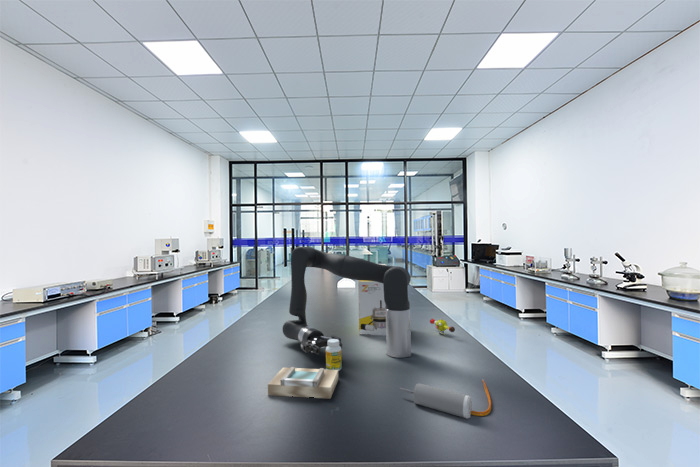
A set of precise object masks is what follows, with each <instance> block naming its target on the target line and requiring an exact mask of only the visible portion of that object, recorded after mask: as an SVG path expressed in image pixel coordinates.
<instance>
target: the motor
mask: <svg viewBox="0 0 700 467" xmlns="http://www.w3.org/2000/svg"><path fill="white" fill-rule="evenodd" d="M481 380H482V384H483V389H484V391H485V394H486V396H487V397H486V398H487V400H488V408H487V409H486V410H484V411H475V410H472V409H473V401H472V400H473V399H472V397H471V396H470V395H466V394H464V393H463V394H462V393H458V392H454V391H450V390H448V389H447V390H446V389H443V388H439V387H436V386H435V387H434V386H431V385H427V384H423V383H416V384H415V386H414V390H410V389H407V388H405V387H404V388H403V387H399V388H398V391H402V392H405V393H409V394H413V395H412V396H413V398H412V399H413V402H414V404H415V405H419V406H422V407H425V408H429V409H433V410H436V411H439V412H442V413H447V414H450V415H453V416H456V417H460V418H463V419H470V418H471V415H472V416H475V417H483V416H484V417H486V416H487V415H489V414H490V413H491V411H492V399H491V395H490V393H489V390H488V387H487V385H486V383H485V382H486V381H485V380H484V379H483V378H482V379H481Z"/></svg>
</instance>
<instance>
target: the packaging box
mask: <svg viewBox="0 0 700 467" xmlns="http://www.w3.org/2000/svg"><path fill="white" fill-rule="evenodd" d="M357 281H358V283H357V284H358V334H372V335H371V336H386V305H385V301H384V287H383V283H380V282H375V281H362V280H357Z"/></svg>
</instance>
